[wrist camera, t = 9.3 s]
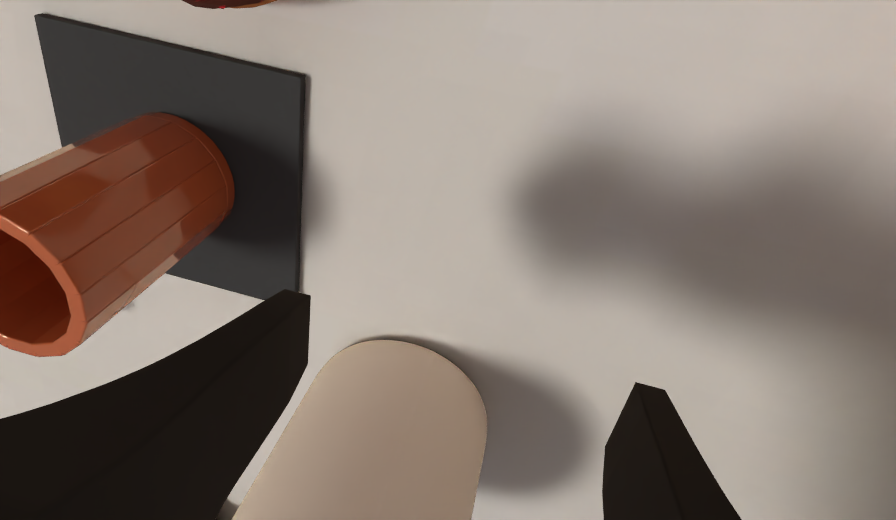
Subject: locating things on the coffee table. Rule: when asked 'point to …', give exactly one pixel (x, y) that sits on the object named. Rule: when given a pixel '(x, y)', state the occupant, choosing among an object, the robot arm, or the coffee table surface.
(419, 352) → the mug
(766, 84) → the coffee table surface
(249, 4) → the donut
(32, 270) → the terracotta cup
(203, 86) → the mat
